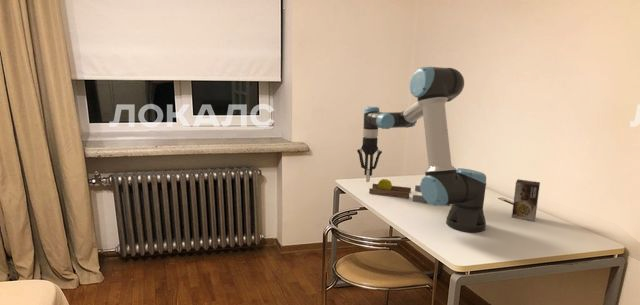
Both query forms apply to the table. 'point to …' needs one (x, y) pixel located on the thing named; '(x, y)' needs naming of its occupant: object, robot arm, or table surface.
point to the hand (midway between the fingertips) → (367, 181)
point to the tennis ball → (384, 184)
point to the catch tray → (418, 197)
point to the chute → (391, 191)
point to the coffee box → (525, 200)
